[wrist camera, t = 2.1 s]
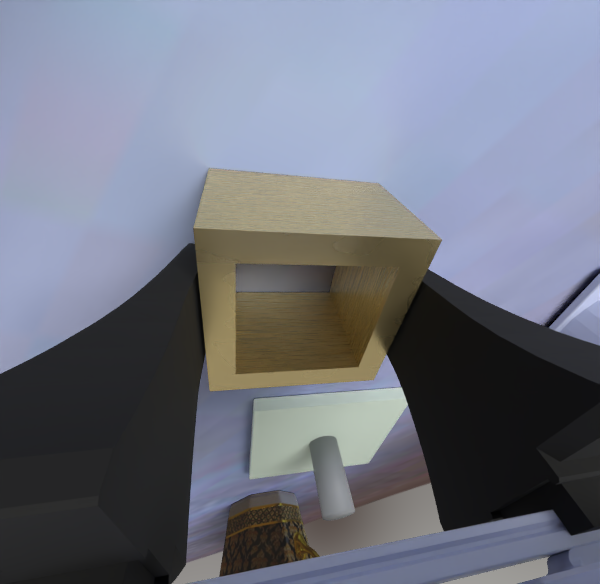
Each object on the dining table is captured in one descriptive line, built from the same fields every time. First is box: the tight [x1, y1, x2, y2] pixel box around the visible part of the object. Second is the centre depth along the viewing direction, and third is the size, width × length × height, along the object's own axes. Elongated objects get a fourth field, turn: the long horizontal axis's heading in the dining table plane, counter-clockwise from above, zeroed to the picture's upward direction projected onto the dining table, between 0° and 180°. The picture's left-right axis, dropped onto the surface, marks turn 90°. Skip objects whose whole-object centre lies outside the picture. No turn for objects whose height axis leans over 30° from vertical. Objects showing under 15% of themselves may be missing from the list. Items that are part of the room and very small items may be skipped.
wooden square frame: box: [193, 168, 442, 391], centre depth 9 cm, size 6×6×4 cm
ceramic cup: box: [219, 490, 320, 577], centre depth 25 cm, size 13×10×10 cm
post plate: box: [249, 387, 408, 520], centre depth 19 cm, size 10×10×5 cm
